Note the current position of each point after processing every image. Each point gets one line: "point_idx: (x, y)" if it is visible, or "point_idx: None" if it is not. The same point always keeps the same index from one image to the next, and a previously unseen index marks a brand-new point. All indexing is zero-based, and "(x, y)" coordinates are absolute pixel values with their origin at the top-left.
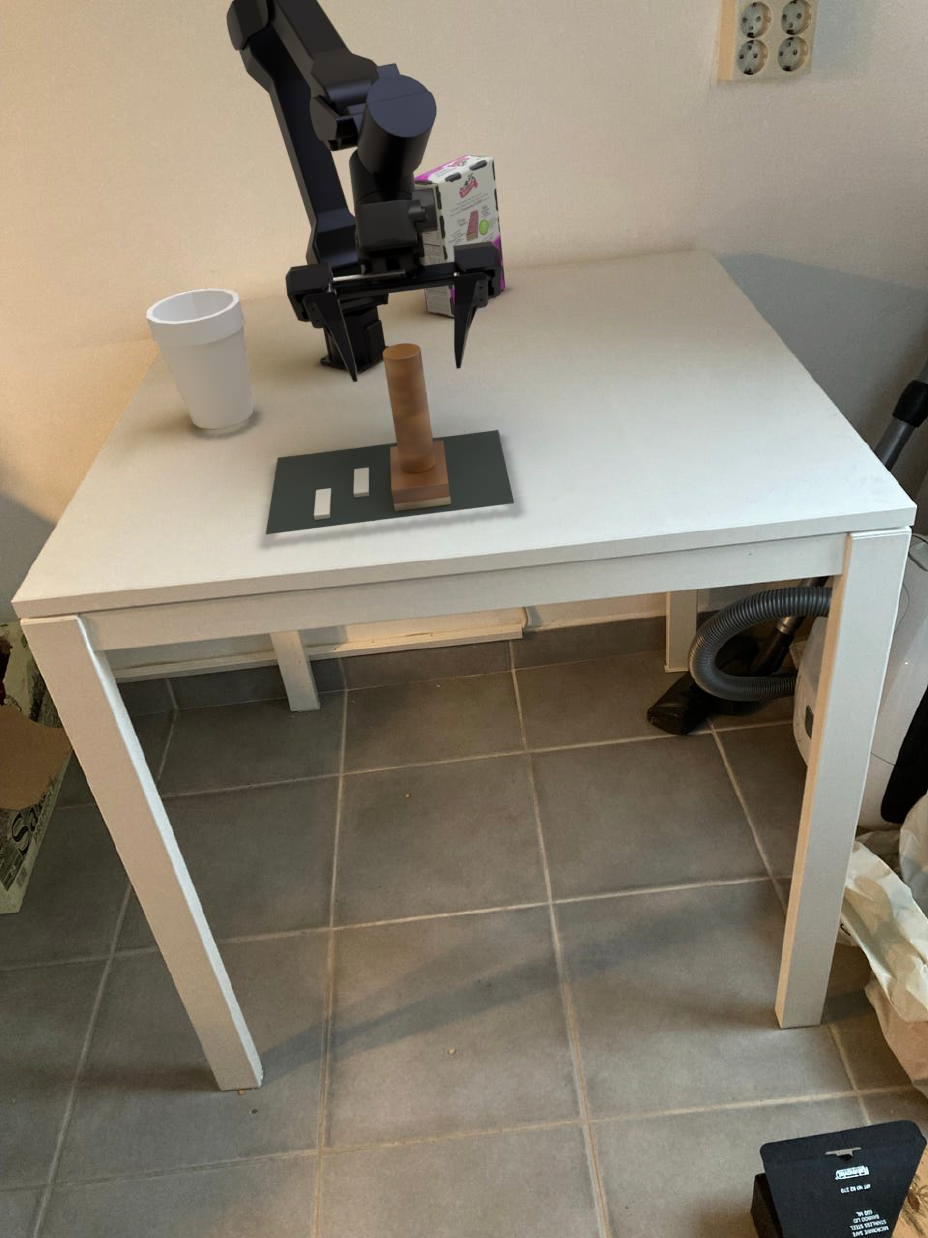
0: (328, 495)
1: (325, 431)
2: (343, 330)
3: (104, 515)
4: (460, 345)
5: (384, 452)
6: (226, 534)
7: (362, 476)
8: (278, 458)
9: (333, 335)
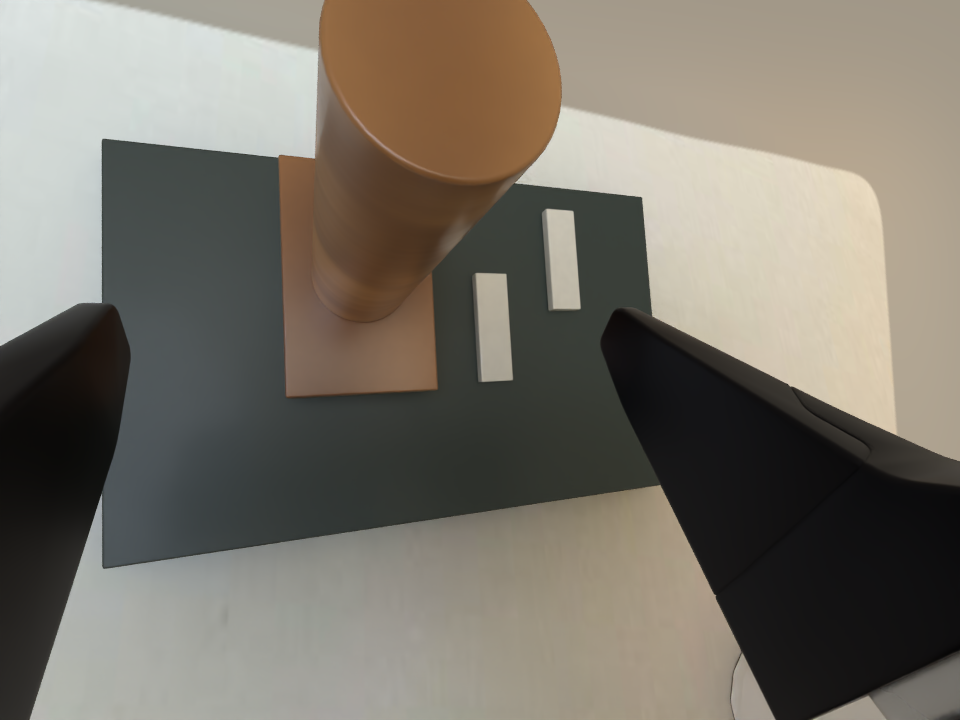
0: (555, 279)
1: (585, 636)
2: (802, 421)
3: (859, 362)
4: (13, 353)
5: (448, 471)
6: (694, 255)
7: (492, 342)
8: None
9: (826, 403)
